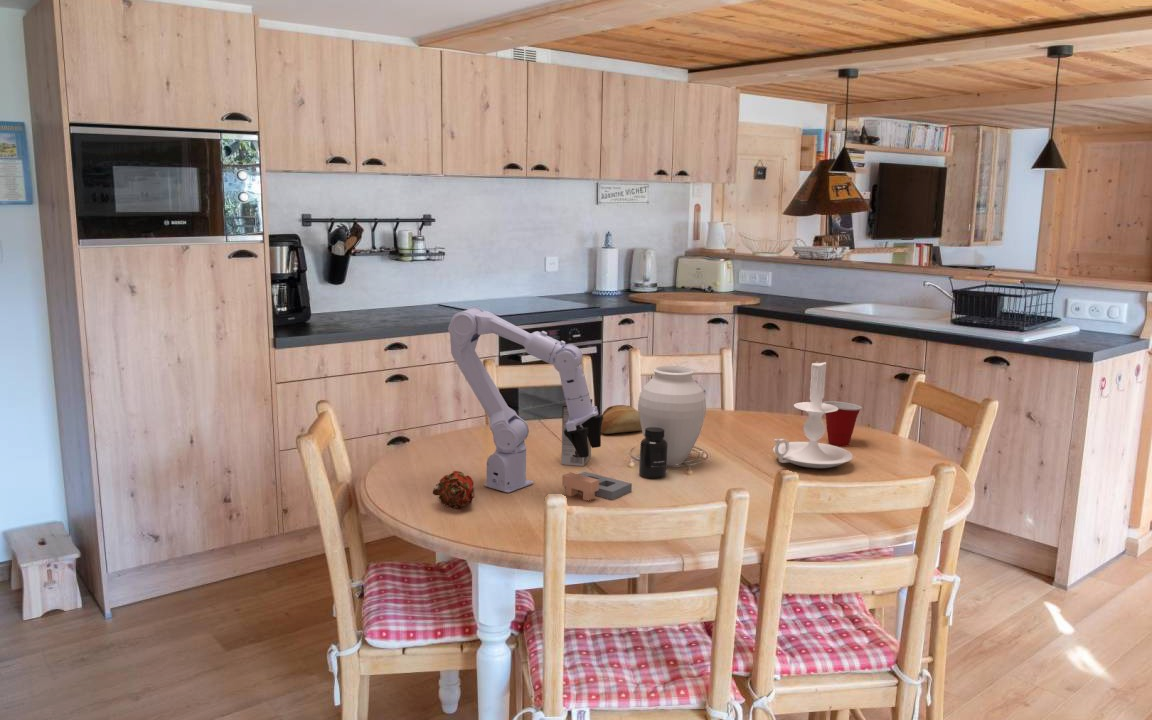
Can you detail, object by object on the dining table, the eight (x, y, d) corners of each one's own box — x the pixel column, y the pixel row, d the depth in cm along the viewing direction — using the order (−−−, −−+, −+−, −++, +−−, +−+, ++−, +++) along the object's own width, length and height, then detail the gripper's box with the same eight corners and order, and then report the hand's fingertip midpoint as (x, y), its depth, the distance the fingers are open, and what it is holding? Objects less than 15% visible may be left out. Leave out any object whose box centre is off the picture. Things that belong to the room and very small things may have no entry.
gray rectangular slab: (612, 500, 205) (612, 491, 205) (564, 487, 213) (564, 479, 213) (631, 491, 211) (631, 483, 211) (584, 479, 220) (584, 471, 219)
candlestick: (744, 461, 238) (751, 358, 233) (809, 448, 251) (816, 351, 246) (802, 482, 221) (810, 372, 216) (868, 468, 234) (877, 364, 229)
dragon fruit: (461, 522, 194) (445, 512, 204) (489, 495, 196) (473, 487, 207) (437, 494, 191) (422, 485, 202) (466, 467, 194) (450, 460, 205)
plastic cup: (866, 445, 256) (870, 405, 253) (842, 451, 250) (845, 409, 247) (836, 436, 264) (839, 397, 262) (812, 441, 258) (815, 401, 256)
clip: (590, 502, 203) (591, 482, 202) (562, 494, 208) (562, 475, 207) (598, 499, 206) (599, 479, 205) (569, 491, 211) (570, 472, 210)
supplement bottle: (658, 481, 219) (660, 434, 217) (634, 476, 223) (635, 430, 221) (670, 474, 225) (672, 428, 223) (646, 469, 229) (648, 424, 227)
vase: (622, 460, 236) (625, 368, 231) (663, 448, 248) (666, 360, 244) (676, 476, 224) (680, 379, 219) (716, 461, 237) (721, 370, 232)
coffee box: (568, 455, 240) (569, 397, 237) (591, 456, 239) (593, 398, 236) (560, 464, 231) (562, 404, 228) (584, 466, 230) (586, 406, 227)
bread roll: (590, 431, 265) (591, 405, 263) (630, 425, 273) (631, 400, 271) (608, 439, 257) (609, 412, 255) (650, 432, 265) (651, 406, 263)
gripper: (580, 401, 199) (594, 459, 200) (603, 386, 212) (616, 440, 213) (552, 406, 202) (566, 462, 203) (577, 390, 215) (590, 444, 216)
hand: (590, 451), depth 209 cm, fingers open, 7 cm apart
